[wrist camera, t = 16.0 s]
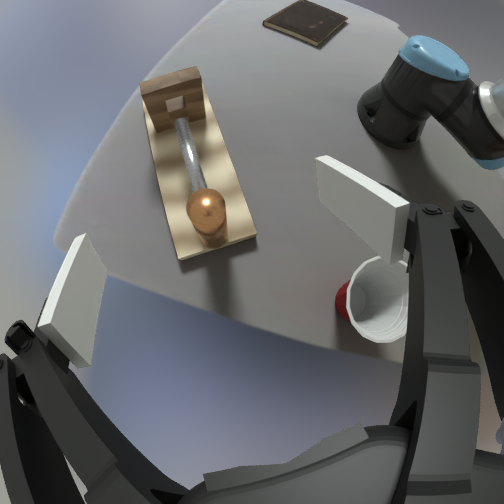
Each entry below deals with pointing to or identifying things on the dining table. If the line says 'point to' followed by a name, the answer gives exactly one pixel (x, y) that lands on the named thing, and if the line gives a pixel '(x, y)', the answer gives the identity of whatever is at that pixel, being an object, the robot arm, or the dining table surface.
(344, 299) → the plastic cup
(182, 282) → the dining table surface
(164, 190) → the copper canister stand
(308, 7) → the hardcover book
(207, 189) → the copper cylinder with rod
